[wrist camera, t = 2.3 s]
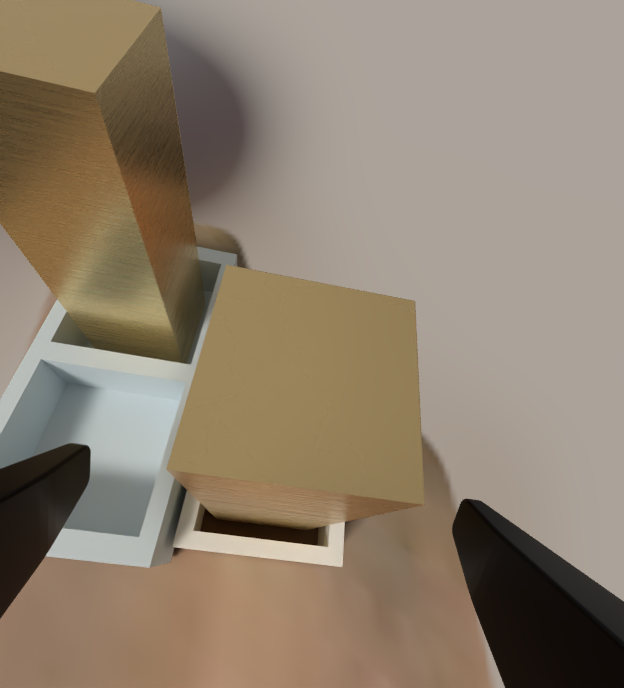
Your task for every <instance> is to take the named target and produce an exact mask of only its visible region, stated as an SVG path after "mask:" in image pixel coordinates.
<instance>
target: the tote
mask: <svg viewBox="0 0 624 688" xmlns="http://www.w3.org/2000/svg"><path fill="white" fill-rule="evenodd" d="M204 512H205V507H204V506H203V505H202V504H201V503H200V502H199V501H198V500H197V499H196V498H195V497H194V496H193V495H192V494H191V493H190V492H189V491H188V490H187V492H186V496H185V500H184V503H183V507H182V511H181V515H180V519H179V523H178V527H177V530H176V534H175V538H174V542H173V546H172V547H176V548H185V549H193V550H202V551H210V552H219V553H227V554H236V555H244V556H253V557H262V558H270V559H279V560H287V561H296V562H304V563H313V564H321V565H330V566H338V567H342V564H343V545H344V527H345V522H341V523H337V524H332V525H327V526H322V527H318V539H317V546H314V545H306V544H298V543H290V542H282V541H273V540H265V539H257V538H249V537H241V536H232V535H224V534H216V533H208V532H200V530H201V525H202V521H203V517H204Z"/></svg>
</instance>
